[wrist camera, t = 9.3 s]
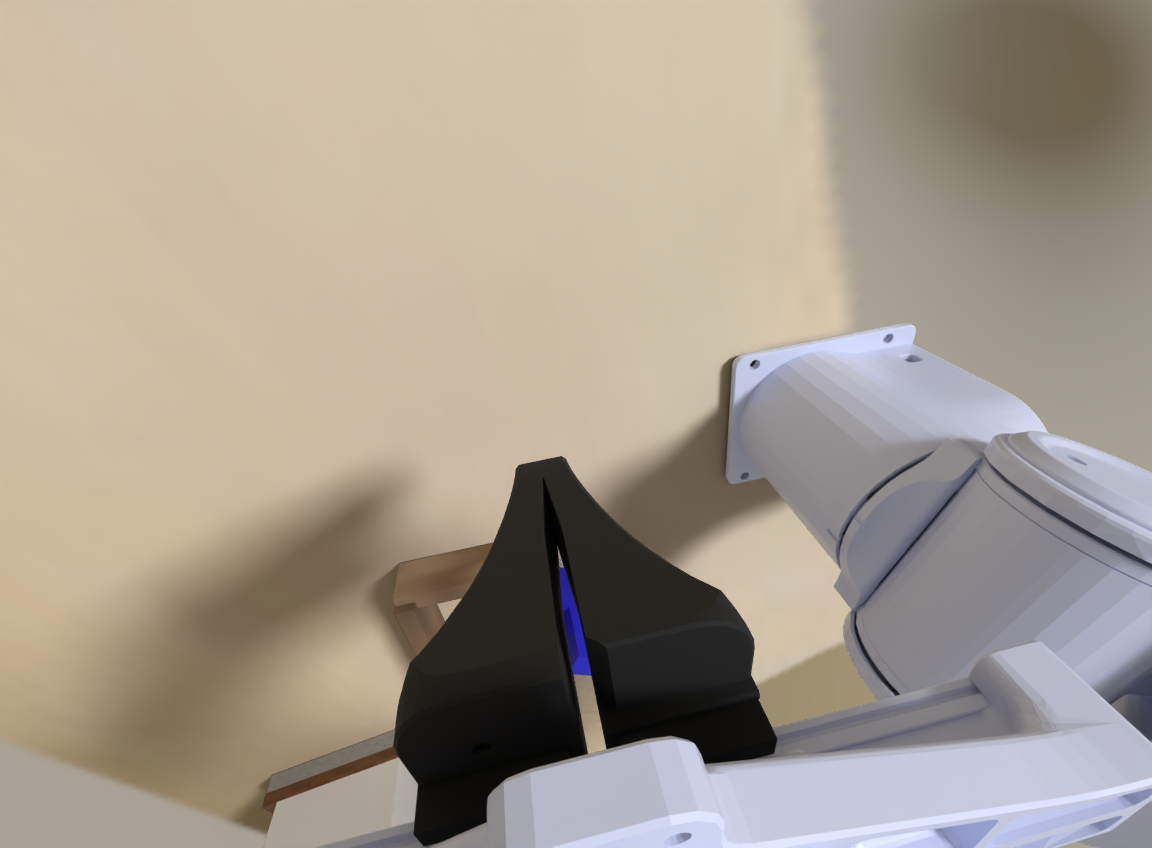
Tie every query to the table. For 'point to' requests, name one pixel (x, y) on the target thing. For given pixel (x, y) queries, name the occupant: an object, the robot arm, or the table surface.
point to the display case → (340, 796)
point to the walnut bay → (433, 590)
